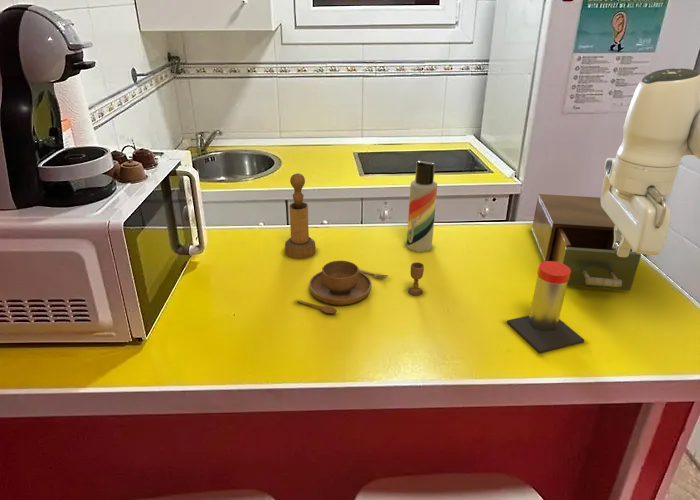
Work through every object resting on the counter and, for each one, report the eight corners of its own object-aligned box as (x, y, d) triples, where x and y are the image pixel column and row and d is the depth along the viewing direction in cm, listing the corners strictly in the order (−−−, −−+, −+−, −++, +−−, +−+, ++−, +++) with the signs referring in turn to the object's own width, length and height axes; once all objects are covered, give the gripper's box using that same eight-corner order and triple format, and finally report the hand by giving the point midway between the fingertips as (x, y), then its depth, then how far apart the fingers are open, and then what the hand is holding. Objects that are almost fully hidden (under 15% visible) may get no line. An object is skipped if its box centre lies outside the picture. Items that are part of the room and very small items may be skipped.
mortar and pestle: (290, 261, 110) (286, 181, 102) (281, 248, 116) (276, 171, 107) (319, 255, 113) (318, 177, 105) (309, 243, 118) (307, 167, 110)
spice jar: (545, 312, 93) (557, 259, 88) (564, 328, 89) (577, 273, 84) (521, 317, 92) (532, 263, 87) (539, 334, 88) (552, 278, 82)
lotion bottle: (401, 246, 117) (406, 160, 108) (417, 238, 121) (424, 155, 111) (420, 255, 114) (427, 167, 104) (436, 247, 117) (445, 161, 108)
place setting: (338, 263, 110) (338, 238, 107) (426, 289, 101) (428, 262, 98) (289, 303, 96) (287, 275, 94) (385, 336, 87) (387, 307, 85)
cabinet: (616, 269, 109) (628, 228, 104) (544, 264, 110) (553, 223, 106) (594, 235, 123) (604, 197, 119) (531, 231, 125) (538, 193, 120)
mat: (548, 313, 94) (549, 310, 94) (584, 342, 86) (584, 339, 86) (506, 323, 91) (506, 320, 91) (539, 354, 84) (539, 351, 84)
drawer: (638, 302, 96) (649, 265, 92) (562, 296, 97) (571, 260, 94) (606, 253, 113) (615, 220, 110) (543, 248, 115) (549, 216, 111)
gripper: (691, 202, 73) (663, 286, 79) (640, 158, 91) (620, 229, 97) (644, 199, 74) (619, 282, 80) (602, 156, 92) (585, 227, 98)
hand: (619, 253), depth 89 cm, fingers closed
